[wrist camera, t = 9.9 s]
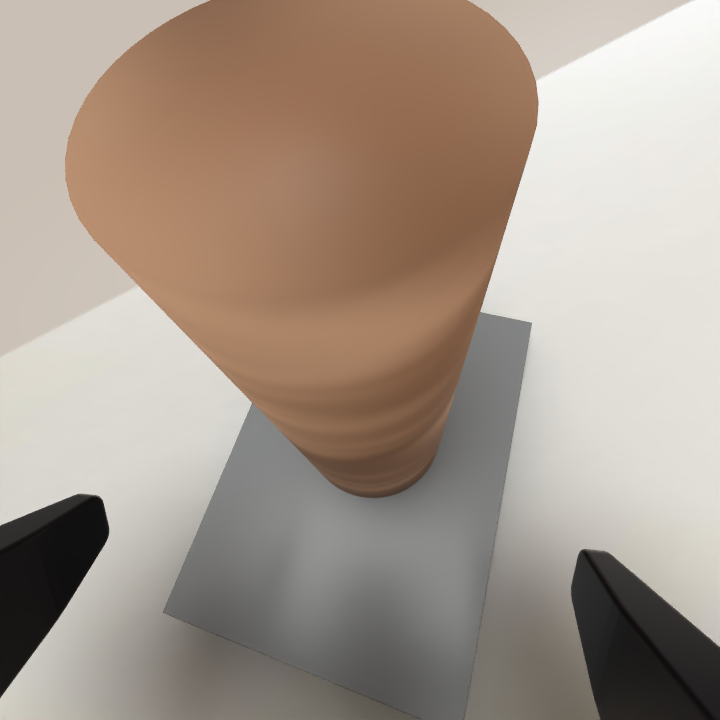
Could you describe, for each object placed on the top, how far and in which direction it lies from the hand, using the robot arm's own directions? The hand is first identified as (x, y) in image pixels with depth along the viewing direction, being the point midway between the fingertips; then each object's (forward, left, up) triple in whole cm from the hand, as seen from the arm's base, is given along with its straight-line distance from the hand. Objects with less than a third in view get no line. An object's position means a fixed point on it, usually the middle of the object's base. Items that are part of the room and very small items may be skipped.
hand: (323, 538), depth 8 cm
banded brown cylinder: (+4, +1, -7) cm, 8 cm away
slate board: (+3, +1, -9) cm, 9 cm away
